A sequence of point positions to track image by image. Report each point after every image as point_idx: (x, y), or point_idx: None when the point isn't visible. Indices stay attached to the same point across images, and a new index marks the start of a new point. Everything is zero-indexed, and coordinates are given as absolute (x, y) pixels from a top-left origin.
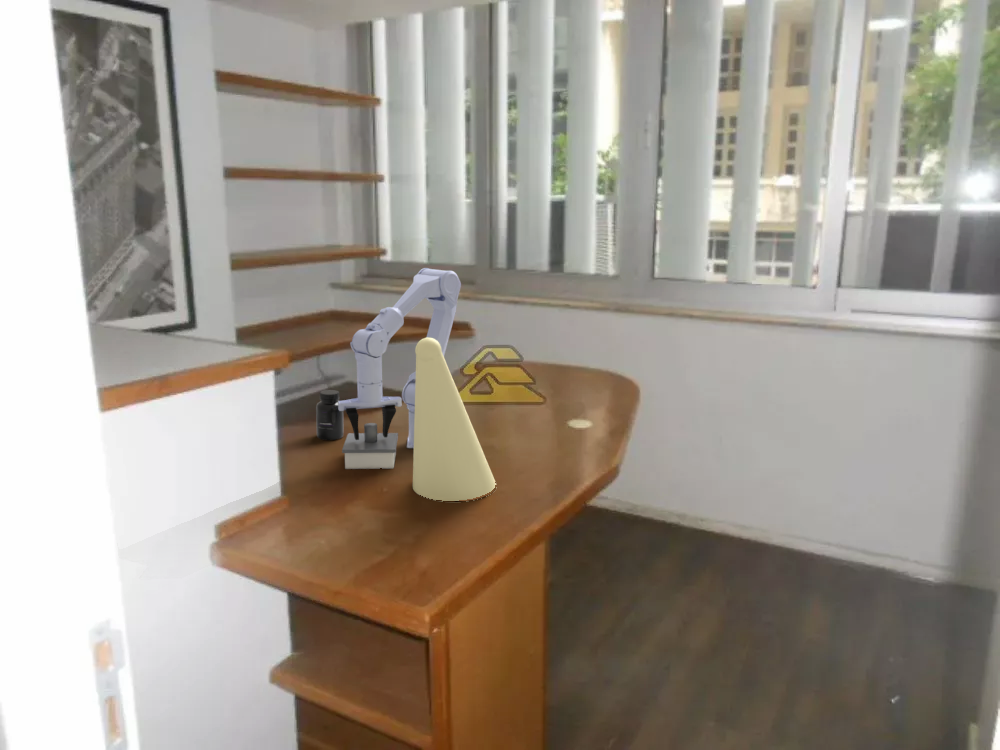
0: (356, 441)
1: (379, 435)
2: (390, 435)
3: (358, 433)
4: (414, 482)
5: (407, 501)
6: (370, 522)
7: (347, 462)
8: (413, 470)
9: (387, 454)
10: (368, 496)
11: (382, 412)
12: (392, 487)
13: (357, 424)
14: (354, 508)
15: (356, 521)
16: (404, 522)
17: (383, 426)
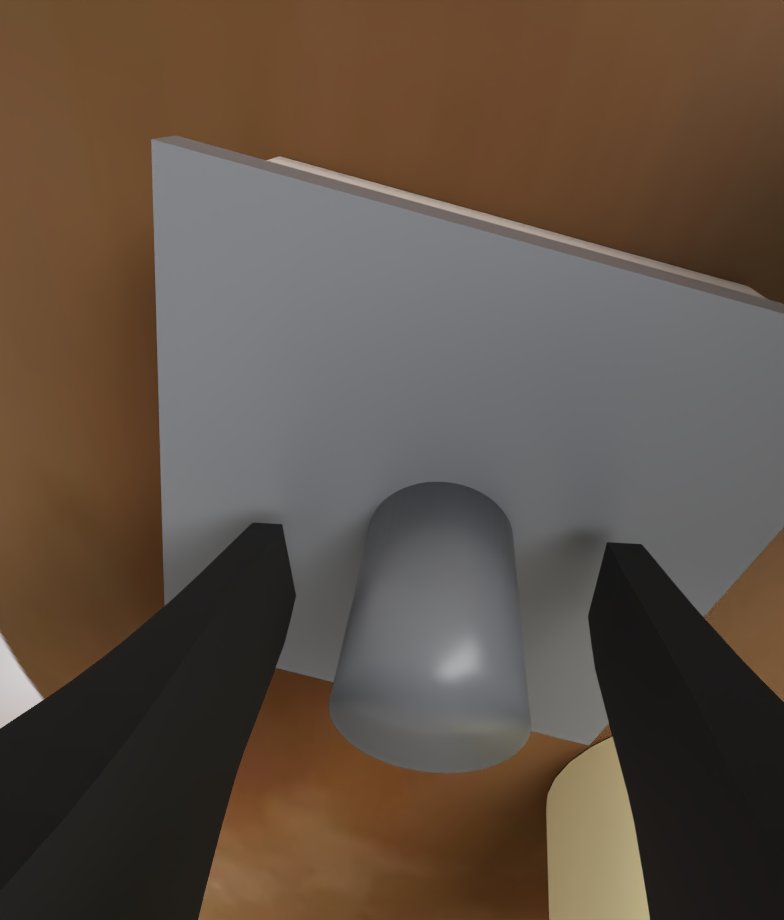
0: (283, 504)
1: (604, 387)
2: (752, 428)
3: (269, 677)
4: (549, 853)
5: (485, 836)
6: (338, 872)
7: None
8: (555, 918)
9: None
10: (351, 778)
11: (780, 866)
12: None
13: (215, 814)
14: (294, 816)
15: (298, 859)
16: (433, 896)
17: (639, 668)
